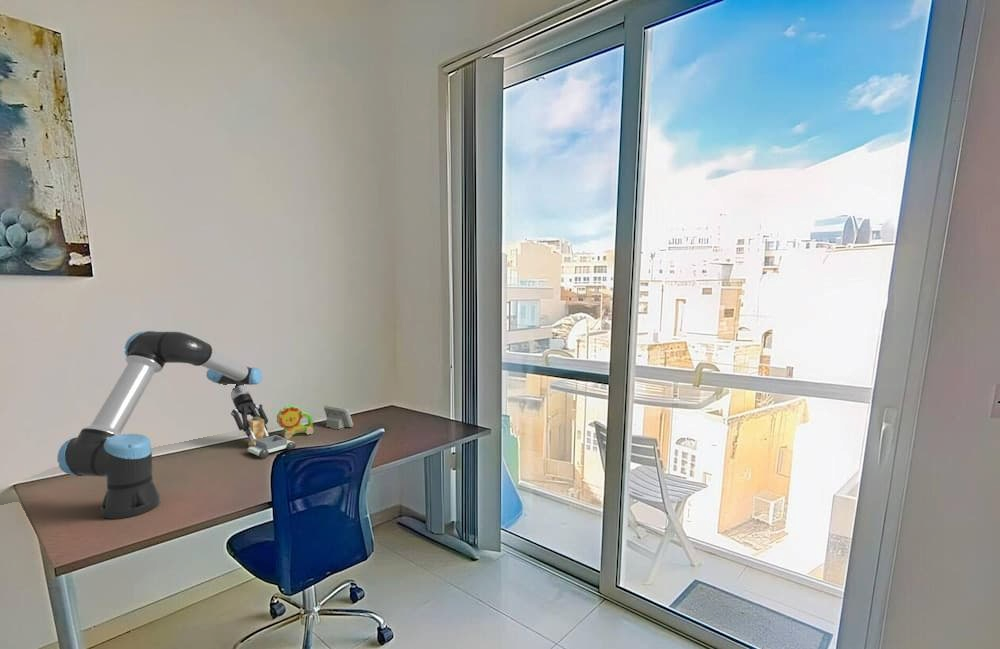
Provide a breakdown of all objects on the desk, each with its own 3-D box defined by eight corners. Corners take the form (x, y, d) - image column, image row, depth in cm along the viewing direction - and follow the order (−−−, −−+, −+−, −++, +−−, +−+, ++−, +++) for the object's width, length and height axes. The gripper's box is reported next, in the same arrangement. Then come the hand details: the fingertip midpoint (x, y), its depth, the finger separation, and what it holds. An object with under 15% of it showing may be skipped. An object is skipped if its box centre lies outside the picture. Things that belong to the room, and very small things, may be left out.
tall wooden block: (253, 448, 210) (252, 419, 209) (248, 446, 213) (247, 417, 212) (264, 445, 214) (264, 416, 213) (259, 443, 217) (258, 414, 216)
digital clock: (354, 427, 242) (354, 407, 241) (339, 432, 235) (338, 411, 234) (336, 422, 252) (336, 402, 251) (321, 425, 245) (320, 405, 244)
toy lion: (310, 431, 235) (310, 401, 234) (314, 434, 231) (313, 404, 229) (276, 438, 225) (275, 406, 224) (279, 440, 221) (278, 409, 220)
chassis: (259, 459, 197) (259, 446, 196) (246, 454, 203) (246, 441, 203) (295, 449, 209) (295, 437, 209) (282, 444, 216) (282, 432, 215)
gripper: (258, 398, 229) (277, 438, 220) (218, 406, 214) (237, 449, 206) (263, 389, 225) (283, 429, 217) (223, 396, 211) (242, 439, 202)
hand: (260, 439), depth 211 cm, fingers closed on tall wooden block, 5 cm apart
